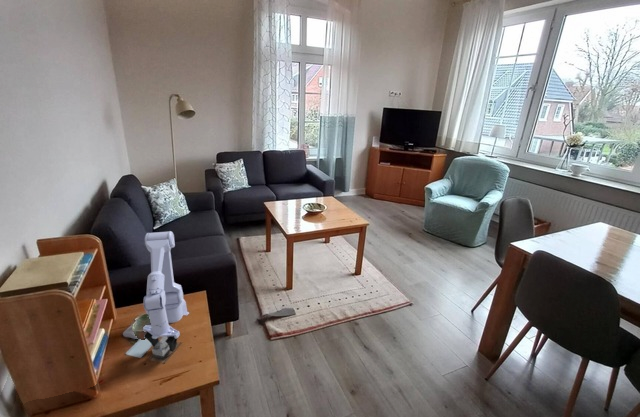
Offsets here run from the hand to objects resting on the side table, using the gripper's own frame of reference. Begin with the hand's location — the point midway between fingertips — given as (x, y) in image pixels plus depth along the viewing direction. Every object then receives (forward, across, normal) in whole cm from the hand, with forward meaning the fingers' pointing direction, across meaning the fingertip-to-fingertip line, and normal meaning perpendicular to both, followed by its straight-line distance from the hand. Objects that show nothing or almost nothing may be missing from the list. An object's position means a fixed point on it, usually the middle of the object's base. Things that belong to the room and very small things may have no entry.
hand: (164, 347), depth 120 cm
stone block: (+4, -19, +8) cm, 21 cm away
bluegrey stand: (+3, -10, 0) cm, 11 cm away
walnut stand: (+3, 0, 0) cm, 3 cm away
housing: (+2, 0, 0) cm, 2 cm away
